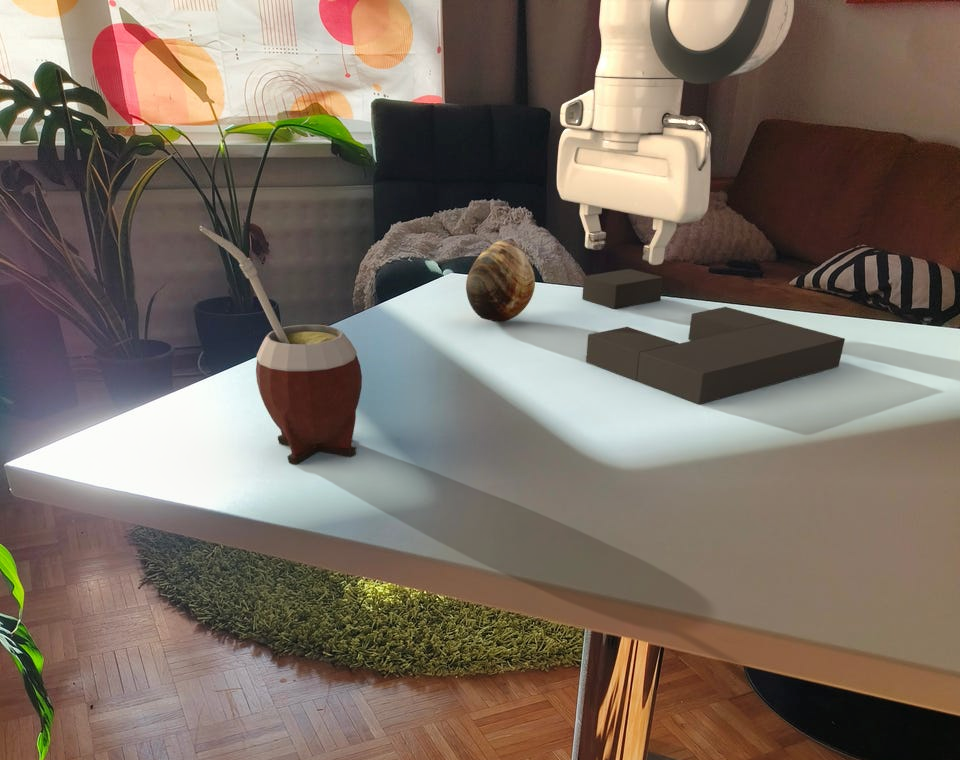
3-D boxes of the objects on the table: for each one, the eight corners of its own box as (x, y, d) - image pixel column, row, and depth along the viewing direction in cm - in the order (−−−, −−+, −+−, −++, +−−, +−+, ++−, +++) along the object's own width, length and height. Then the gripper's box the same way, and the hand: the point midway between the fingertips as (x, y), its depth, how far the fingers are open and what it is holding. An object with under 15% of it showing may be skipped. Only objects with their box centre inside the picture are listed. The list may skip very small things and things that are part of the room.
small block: (627, 291, 105) (629, 268, 103) (660, 300, 101) (663, 277, 100) (582, 299, 101) (583, 276, 100) (614, 309, 98) (616, 285, 96)
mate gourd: (383, 439, 65) (369, 215, 57) (325, 478, 59) (300, 234, 51) (298, 424, 68) (272, 207, 59) (234, 460, 62) (195, 225, 54)
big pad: (721, 332, 90) (725, 306, 88) (839, 366, 80) (845, 338, 79) (585, 362, 81) (587, 334, 80) (699, 404, 72) (703, 373, 70)
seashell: (504, 308, 98) (505, 229, 93) (548, 316, 95) (551, 235, 90) (450, 326, 91) (449, 242, 87) (496, 336, 89) (497, 249, 84)
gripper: (735, 116, 85) (712, 269, 93) (594, 104, 99) (585, 239, 107) (688, 118, 82) (669, 276, 90) (550, 106, 96) (543, 244, 104)
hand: (622, 256), depth 99 cm, fingers open, 8 cm apart
